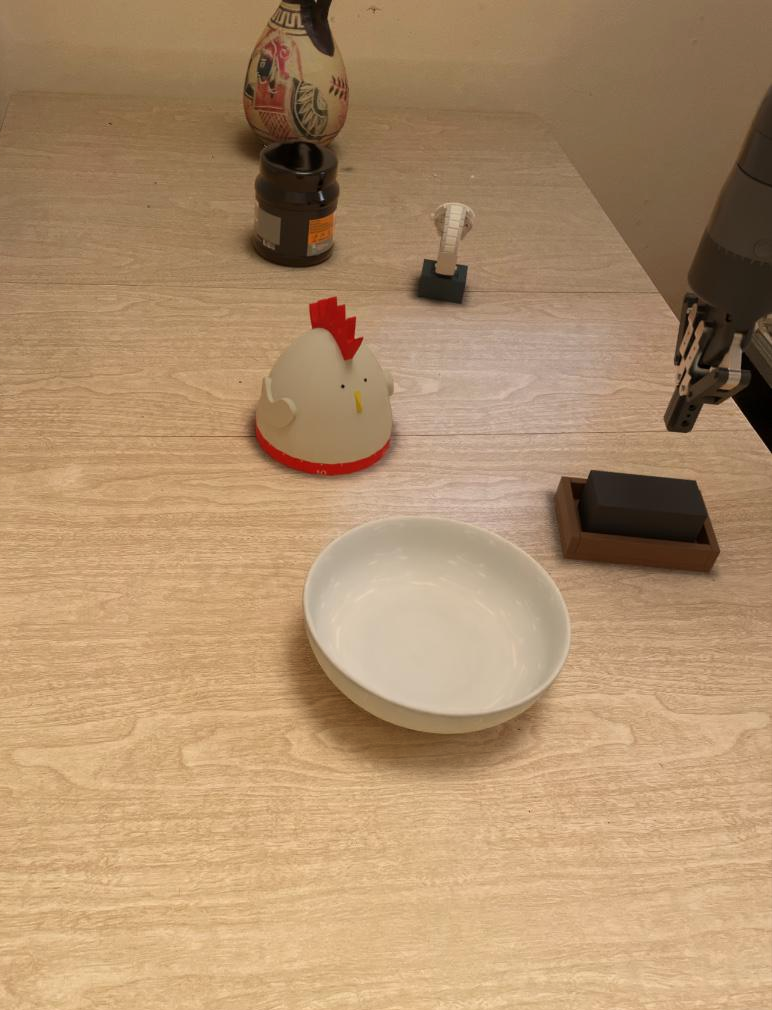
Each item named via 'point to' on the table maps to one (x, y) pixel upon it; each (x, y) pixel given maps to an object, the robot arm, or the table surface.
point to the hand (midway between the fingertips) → (675, 426)
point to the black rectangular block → (641, 506)
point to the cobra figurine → (447, 255)
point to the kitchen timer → (326, 399)
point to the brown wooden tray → (628, 539)
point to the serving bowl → (435, 623)
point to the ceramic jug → (296, 77)
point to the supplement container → (296, 203)
